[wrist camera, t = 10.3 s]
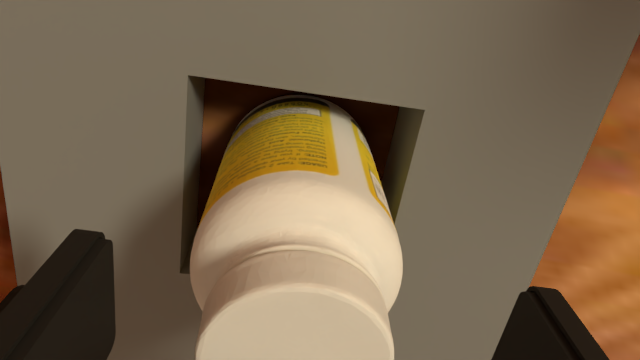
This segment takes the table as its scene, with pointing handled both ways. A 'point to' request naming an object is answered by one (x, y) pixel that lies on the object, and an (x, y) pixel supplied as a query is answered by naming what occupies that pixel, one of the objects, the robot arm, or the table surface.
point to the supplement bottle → (296, 241)
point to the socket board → (318, 78)
